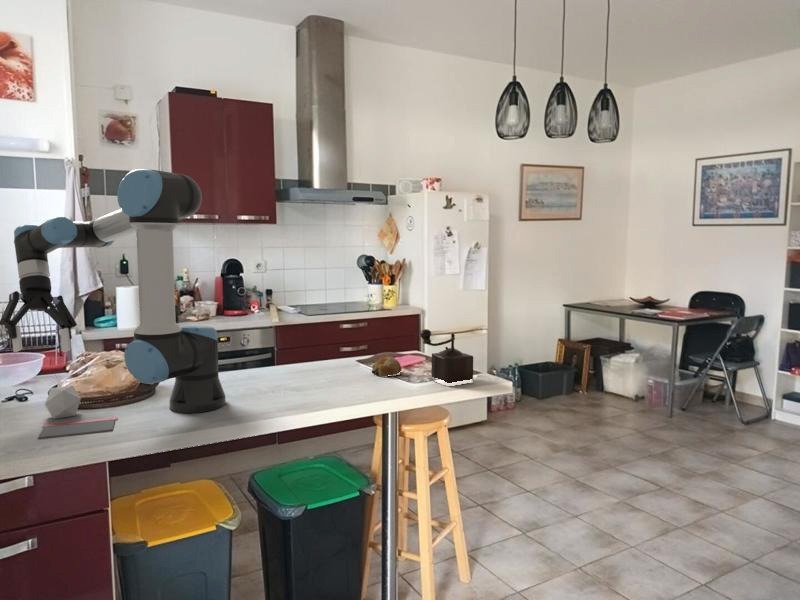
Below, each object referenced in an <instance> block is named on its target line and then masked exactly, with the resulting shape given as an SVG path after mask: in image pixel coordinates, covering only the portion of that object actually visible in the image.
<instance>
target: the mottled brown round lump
mask: <svg viewBox="0 0 800 600" xmlns="http://www.w3.org/2000/svg"><path fill="white" fill-rule="evenodd" d="M400 371H401V372H402V366H401V363H400V362H399V361H398V359H396V358H394V357H393V356H392V357H391V356H384V357H381V358H379V359H378V360H376V361H375V362H374V364H373V365H372V370H371V373H372V374H373V375H374V376H375V375H377V376H376V377H379V376H388V375H393V374H397V373H399V372H400Z"/></svg>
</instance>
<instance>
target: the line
mask: <svg viewBox="0 0 800 600" xmlns="http://www.w3.org/2000/svg"><path fill="white" fill-rule="evenodd" d="M118 419H119V417H118V416H113V417H105V418H104V417H103V418H95V419H94V418H93V419H83V420H74V421H65V422H54V423H45V424H43V425H42V428H44V427H49V426H59V425H69V424H79V423H88V422H98V421H108V420H115V421H117V420H118Z"/></svg>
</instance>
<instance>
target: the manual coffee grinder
mask: <svg viewBox="0 0 800 600" xmlns="http://www.w3.org/2000/svg"><path fill="white" fill-rule="evenodd" d="M450 334H451V335H450V339H447V340H444V341H441V342H437V343H436V342H435V343H432V340H431V336H432V331H431V330H429V329H426V328H425V329H422V330H421V331H419V336H420V338H421V339H422V341H423V342H422V344H424V345H428V346H431V347H438V346H442V345H445V344H449V343H450V348H449V347H448V346H445V349H444V350H441V351H439V352H435V353H433V352H432V353H431V374H430V375H431V376H432V377H434V378H438V379H441V380H444V381H445V382H447V383H452V382H457V381H463V380H470V379H473V380H474V356H473V355H471V354H468V353H464V352H461V351H460V350H459V349H456V348H455V340H456V337H455V336H456V335H455V333H454V332H453V333H450Z"/></svg>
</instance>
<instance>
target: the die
mask: <svg viewBox="0 0 800 600" xmlns="http://www.w3.org/2000/svg"><path fill="white" fill-rule="evenodd" d="M81 400H82V397H81V396H80V394H79V393H78V391H77V390H76V389H75V387H74V385H67V386H66V385H65V386H59V387H51V388H50V390H49V393H48V396H47V398H46V401H45V403H44V404H45V405H44V406H45V408H46V409H47V411H48V413H49V414H50V416H51V417H52V419H53V420H54V419H55V420H56V419H61V418H68V417H74V416H75V417H76V414H77V411H78V408H79V407H80V406H79V405H80V403H81Z"/></svg>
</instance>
